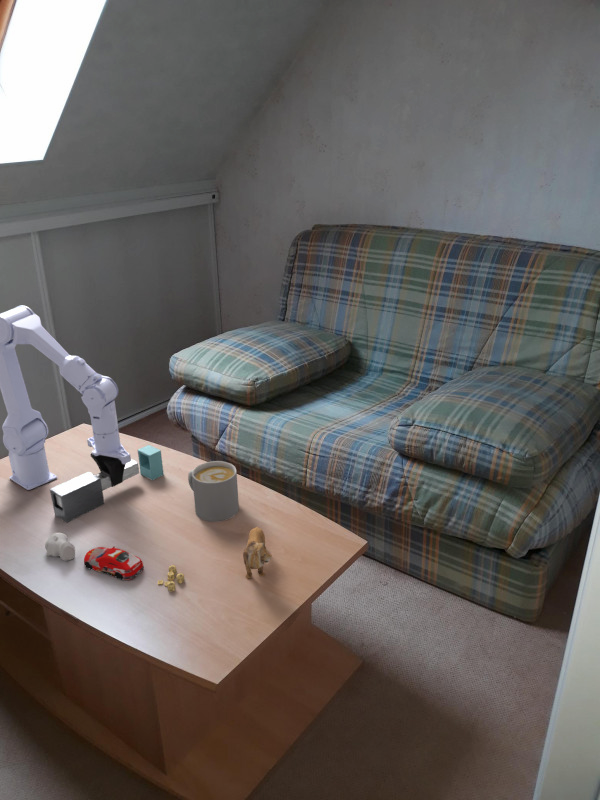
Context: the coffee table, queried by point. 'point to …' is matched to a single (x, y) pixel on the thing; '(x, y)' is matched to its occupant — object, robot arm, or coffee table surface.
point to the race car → (114, 562)
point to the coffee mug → (215, 490)
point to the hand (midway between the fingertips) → (113, 480)
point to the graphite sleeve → (77, 496)
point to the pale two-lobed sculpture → (60, 546)
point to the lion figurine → (255, 552)
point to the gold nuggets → (171, 576)
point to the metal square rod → (106, 481)
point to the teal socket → (150, 462)
